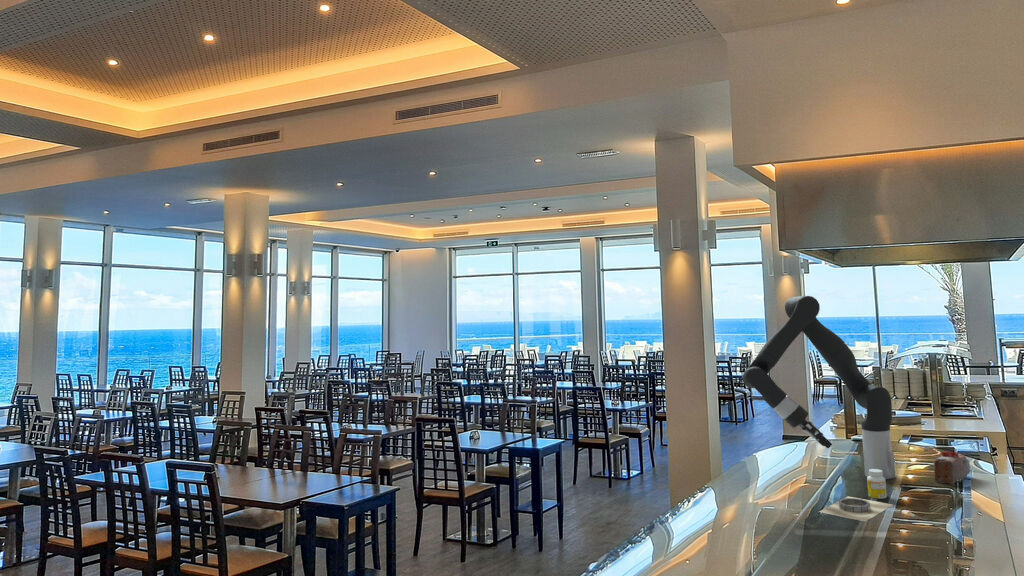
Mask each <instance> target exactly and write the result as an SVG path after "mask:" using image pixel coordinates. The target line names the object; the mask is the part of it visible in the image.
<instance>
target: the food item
mask: <svg viewBox="0 0 1024 576" xmlns="http://www.w3.org/2000/svg"><path fill="white" fill-rule="evenodd" d="M970 471H971V466H970V459H967V457H966V456H965V455H963V454H962V453H959V452H955V451H942V452H941V454H940V456H939V457H937V458H935V459H933V475H934V481H935V482H937V483H942V484H947V483H954V482H955V481H957V480H960V479H963V478H964V479H965V478H966V477H968V475H969V474H970ZM964 479H963V480H964ZM957 482H958V481H957ZM955 483H956V482H955ZM955 483H954V484H955Z"/></svg>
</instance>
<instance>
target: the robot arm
mask: <svg viewBox="0 0 1024 576" xmlns="http://www.w3.org/2000/svg"><path fill="white" fill-rule="evenodd" d="M820 308H821V307H820V302H819V301H818V300H817V299H816V297H814V296H812V295H811V296H810V295H798V296H792V297H790V298H788V299H787V300H786V301H785V304H784V310H785V313H786V315H787V317H788V318H789V319H788V320H787V321H786V323H785V324H784V325H783V326H782V327H781V328H780V329H778V330H777V331H776V332H775V333H774V334H773V335H772V336H771V337H770V338H769V339H768V340H767V341H766V342H765V344H764V345H763V346H762V347H761V349H760V351H759V352H758V354H757V355H756V357H755V358H754V359H753V361H752V362H751V363H750V364H749V366H748V367H747V368H746V369H745V370H744V372H743V374H742V377H741V379H742V382H743V384H744V386H745V387H747V388H749V389H755V390H756V392H758V393H759V394H760V395H761V398H762V400H764V402H765V403H766V404H767V405H768V406H769V407H770V408H772V409H773V411H775V412H776V414H777V415H779V417H780V418H781V419H783V420H784V422H786V423H787V424H788V425H789V426H790V427H791V428H792V429H794V428H797V427H798V426H799V427H800V429H801V431H803V432H804V433H806V435H808V436H809V437H811V438H812V439H814V440H816V441H817V443H819V444H820V445H821V446H822V447H825V449H830V447H832V446H833V443H832V442H831V441H830V440H829V439H828V438H827V437H825V435H824V433H823V432H821V431H820V429H819V428H818V427H817V426H816V425H815V424H814V423H813V422H812V421H810V420H808V421H807V420H806V418H807V417H808V416H809V412H808V411H807V410H806V408H804V407H803V406H801V405H800V403H798V402H797V401H796V399H794V398H792V397H791V396H790V395H788V393H786V392H785V391H784V390H783V389H782V388H781V387H779V386H778V385H777V384H776V382H775V381H774V379H773V378H772V377H771V376H770V375H769V372H771V370H772V369H773V368H774V367H775V366H776V365H777V364H778V362H779V361H780V359H781V358H782V356H784V354H785V352H786V351H787V350H788V349H789V347H790V346H791V345H792V343H793V342H794V341H795V339H797V338H798V336H799V335H800V334H801V333H803V334H804V335H805V336H806V338H808V340H809V341H810V342H811V344H812V345H813V346H814V347H815V349H816V350H817V352H818V353H819V354H820V355H821V357H822V358H823V359H824V361H825V362H826V363H827V364H828V365H829V367H830V368H831V369H832V370H833V372H835V374H836V375H837V377H838V378H839V379H841V381H842V382H843V383H844V385H845V386H846V387H847V390H848V391H849V392H850V394H851V396H852V397H853V399H854V400H855V402H856V403H857V405H859V406H860V407H861V408H863V409H865V410H866V418H865V419H863V420H861V423H860V425H861V438H862V451H863V464H864V465H863V466H864V467H863V468H864V476H865V477H866V478H867V477H868V476H870V475H869V470H870V469H879V470H882V471H883V475H882V476H883V477H884V478H885V480H891V479H896V467H895V455H894V454H895V453H894V451H893V448H892V438H891V424H892V421H893V403H892V397H891V393H890V392H889V390H888V389H887V388H885V387H884V386H880V385H875V384H872V383H871V382H869V380H868V379H867V378H866V377H865V376H864V375H863V373H862V372H861V370H860V368H859V366H858V363H857V359H856V357H855V355H854V353H853V351H852V350H851V349H850V347H849V346H848V345H847V343H846V342H845V340H843V338H841V337H840V336H839V335H837V334H836V333H835V332H833V331H832V330H831V329H830V328H828V327H826V326H825V325H824V324H822V323H821V322H820V321H819V318H817V316H818V315H819V313H820V310H821V309H820Z"/></svg>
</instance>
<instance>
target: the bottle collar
mask: <svg viewBox="0 0 1024 576" xmlns="http://www.w3.org/2000/svg"><path fill="white" fill-rule="evenodd" d="M844 498H845V499H844ZM844 498H840V499H839V500H838V501H837V502H838V503H839V508H840V509H841V510H844V511H847V512H854V513H863V512H868V511H869V510H870V503H869V502H868V501H865V500H866V499H865V500H862V499H863V498H860V499H856V498H857V497H854V498H846V497H844ZM851 505H860V506H851Z"/></svg>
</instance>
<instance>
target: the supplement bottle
mask: <svg viewBox="0 0 1024 576" xmlns="http://www.w3.org/2000/svg"><path fill="white" fill-rule="evenodd" d="M869 475H870V476H868V477H867V476H866V482H867V496H868V498H871V499H878V500H879V499H880V500H883V499H886V498H887V485H886V484H887V483H886V480H887V479H885V478H884V477H883V476H882V475H883V471H882V470H879V469H870V470H869Z"/></svg>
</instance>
